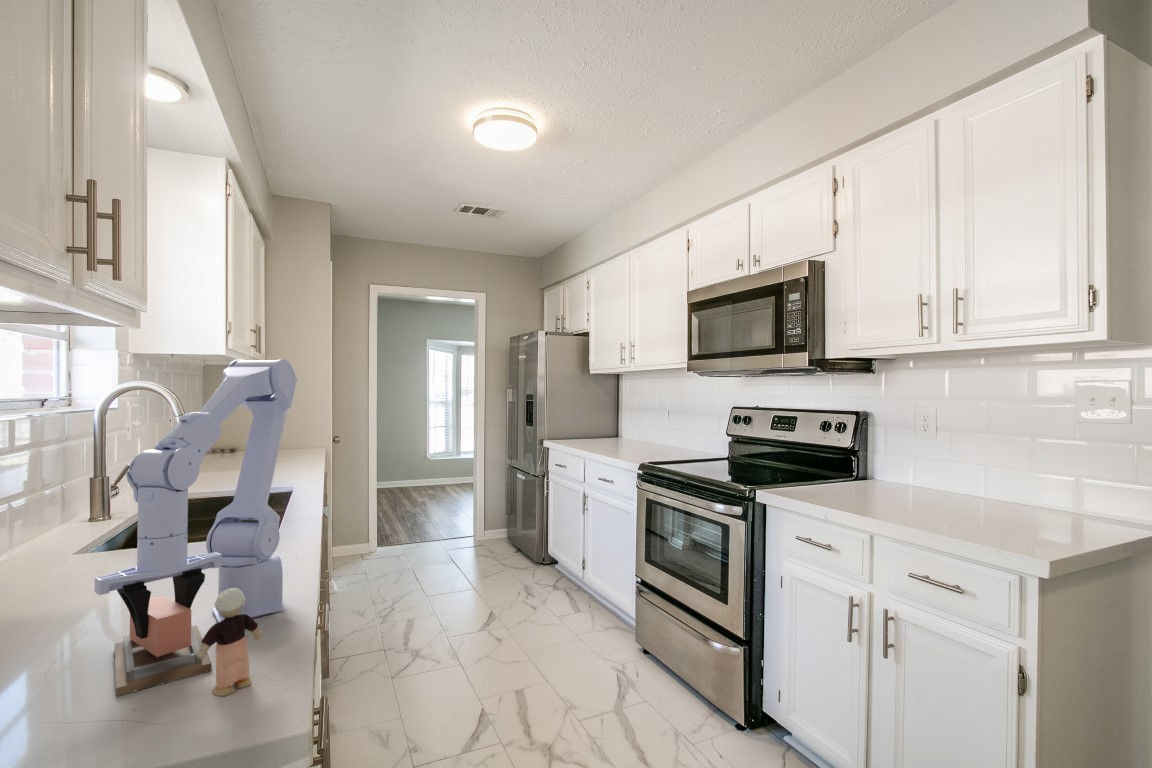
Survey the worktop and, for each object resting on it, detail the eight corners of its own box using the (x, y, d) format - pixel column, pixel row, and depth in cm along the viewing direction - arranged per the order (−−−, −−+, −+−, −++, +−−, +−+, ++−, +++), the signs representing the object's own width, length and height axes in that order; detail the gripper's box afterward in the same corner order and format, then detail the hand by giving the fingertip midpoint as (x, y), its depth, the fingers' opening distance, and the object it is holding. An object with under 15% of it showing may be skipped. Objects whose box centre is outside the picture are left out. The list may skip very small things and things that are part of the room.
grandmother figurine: (245, 672, 75) (246, 578, 75) (266, 677, 74) (267, 581, 74) (188, 701, 68) (189, 597, 68) (209, 708, 66) (210, 602, 67)
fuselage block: (162, 629, 83) (162, 595, 83) (191, 645, 77) (191, 609, 77) (129, 638, 80) (130, 603, 80) (156, 657, 74) (157, 619, 74)
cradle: (196, 631, 88) (196, 617, 88) (211, 670, 75) (211, 654, 75) (114, 650, 81) (114, 635, 81) (116, 696, 69) (116, 678, 69)
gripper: (207, 520, 87) (206, 607, 87) (87, 540, 75) (86, 641, 75) (228, 526, 83) (227, 618, 83) (105, 549, 71) (103, 656, 71)
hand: (161, 630), depth 78 cm, fingers closed on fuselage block, 4 cm apart
